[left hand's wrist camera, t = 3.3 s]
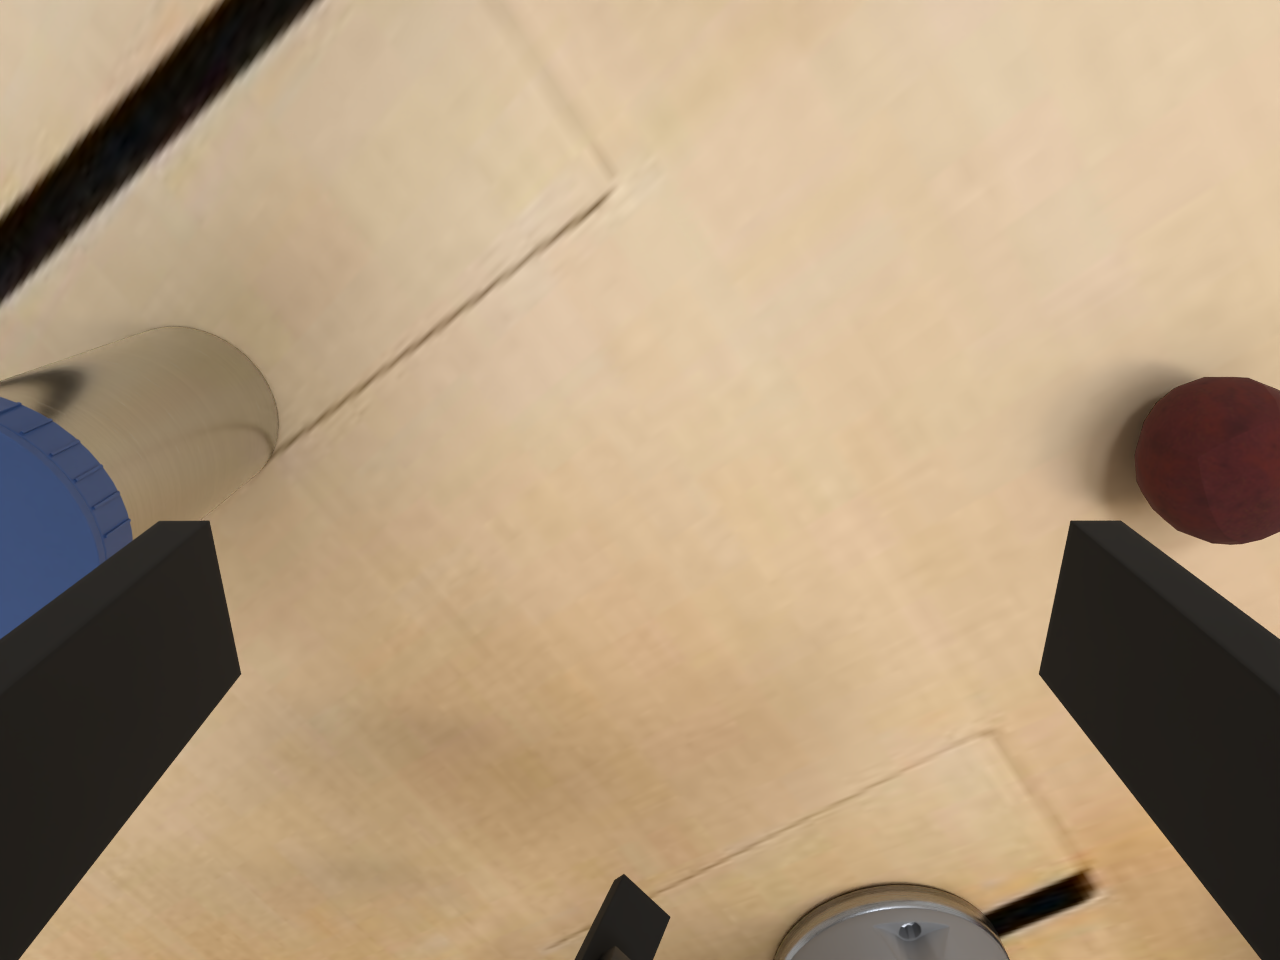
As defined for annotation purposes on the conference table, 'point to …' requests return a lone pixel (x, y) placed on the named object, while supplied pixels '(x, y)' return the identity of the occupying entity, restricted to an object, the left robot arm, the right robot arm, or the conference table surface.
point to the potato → (1214, 459)
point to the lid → (50, 513)
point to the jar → (161, 418)
